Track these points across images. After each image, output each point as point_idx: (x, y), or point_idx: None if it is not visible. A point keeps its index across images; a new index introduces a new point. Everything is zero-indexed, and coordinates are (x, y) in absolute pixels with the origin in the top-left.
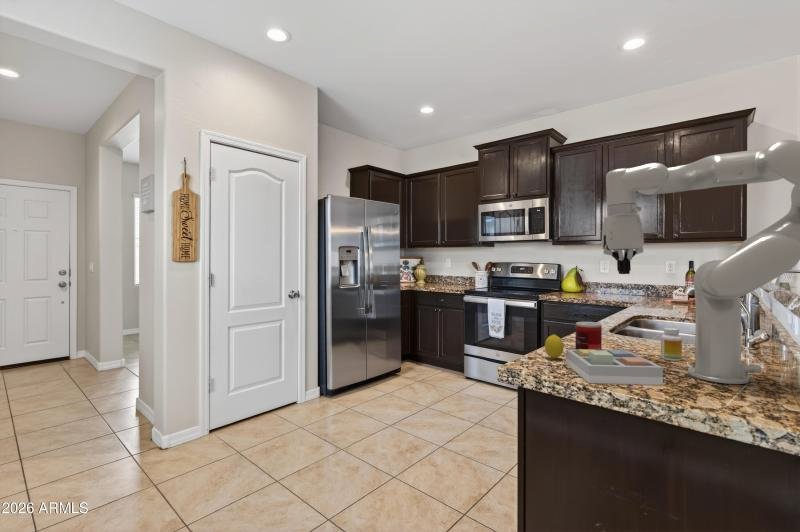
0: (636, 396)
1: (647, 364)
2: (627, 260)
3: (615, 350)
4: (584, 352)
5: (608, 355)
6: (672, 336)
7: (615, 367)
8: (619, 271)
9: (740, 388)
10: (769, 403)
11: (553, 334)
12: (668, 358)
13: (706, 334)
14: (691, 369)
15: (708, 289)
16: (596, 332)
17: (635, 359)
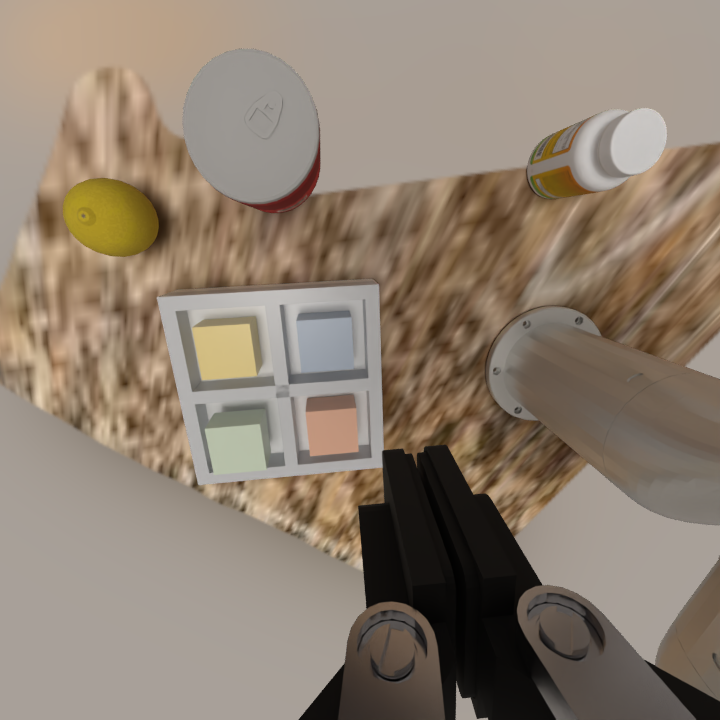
0: (290, 517)
1: (369, 420)
2: (478, 713)
3: (320, 328)
4: (206, 372)
5: (252, 470)
6: (602, 177)
7: (267, 477)
8: (386, 478)
9: (528, 435)
10: (510, 507)
11: (80, 217)
12: (535, 190)
13: (572, 444)
14: (505, 344)
15: (667, 658)
16: (282, 202)
17: (337, 433)
